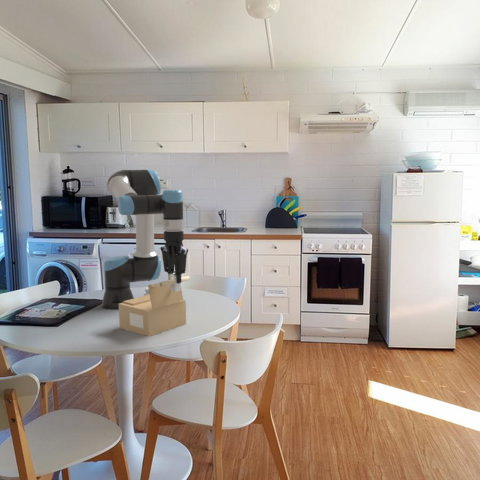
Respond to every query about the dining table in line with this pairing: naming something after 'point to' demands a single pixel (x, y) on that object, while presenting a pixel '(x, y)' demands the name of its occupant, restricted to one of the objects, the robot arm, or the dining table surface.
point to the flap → (165, 293)
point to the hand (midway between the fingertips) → (175, 290)
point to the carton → (150, 316)
